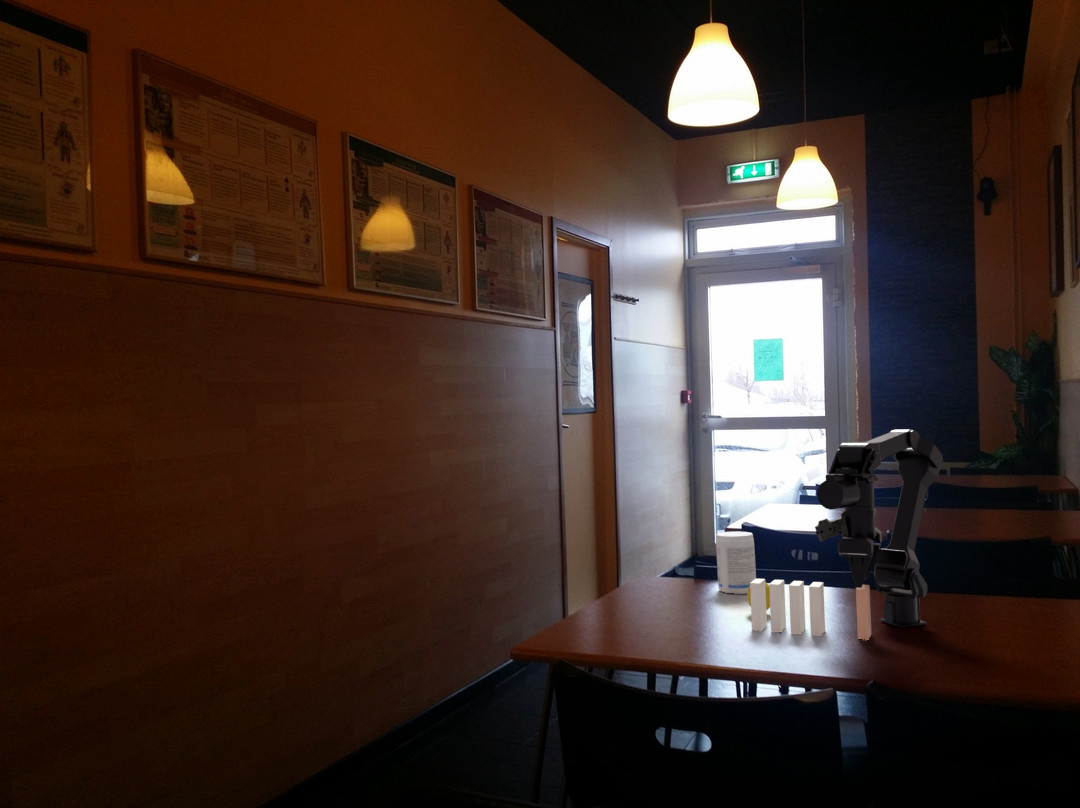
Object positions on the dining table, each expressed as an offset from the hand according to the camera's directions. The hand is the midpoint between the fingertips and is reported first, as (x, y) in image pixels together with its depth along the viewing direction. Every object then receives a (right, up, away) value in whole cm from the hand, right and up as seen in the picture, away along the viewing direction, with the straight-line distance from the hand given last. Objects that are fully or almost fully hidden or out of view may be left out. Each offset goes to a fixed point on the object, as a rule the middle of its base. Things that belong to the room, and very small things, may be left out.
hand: (861, 583), depth 172 cm
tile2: (-7, -11, +4) cm, 14 cm away
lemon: (-15, -12, +22) cm, 29 cm away
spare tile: (+1, -11, 0) cm, 11 cm away
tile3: (-11, -11, +6) cm, 17 cm away
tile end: (-18, -12, +10) cm, 24 cm away
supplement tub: (-14, -12, +47) cm, 51 cm away
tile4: (-14, -11, +8) cm, 20 cm away
